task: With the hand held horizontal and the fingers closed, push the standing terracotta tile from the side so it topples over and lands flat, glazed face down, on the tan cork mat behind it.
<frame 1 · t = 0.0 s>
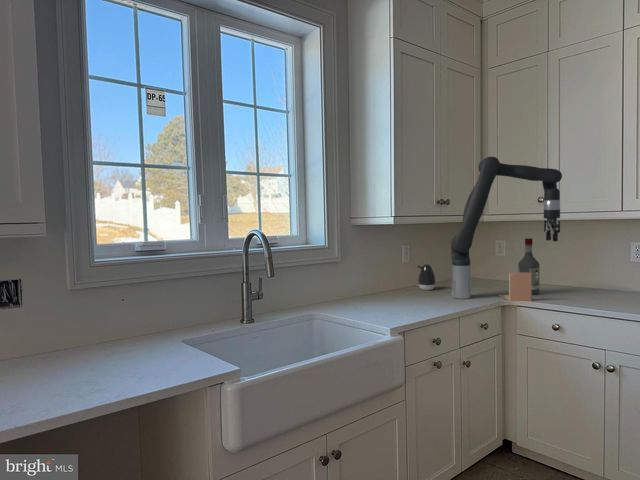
hand: (551, 240, 222), 29 cm above the worktop, tool pointing down, fingers open, 8 cm apart
liquor: (528, 293, 237), on the worktop
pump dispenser: (426, 290, 257), on the worktop
tile: (520, 300, 218), on the worktop
mat: (514, 297, 226), on the worktop
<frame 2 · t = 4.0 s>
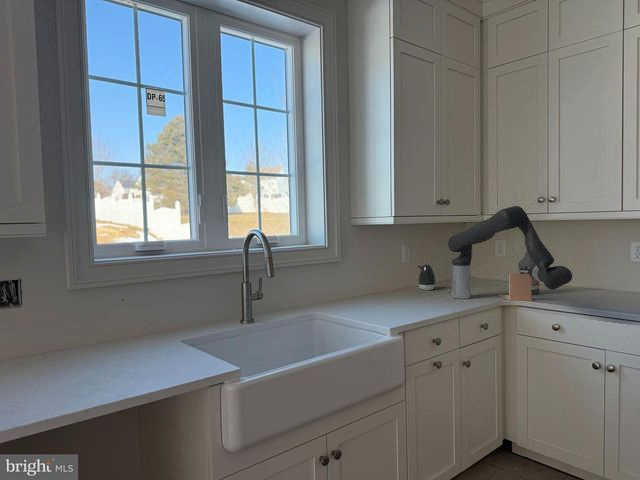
hand: (527, 268, 206), 17 cm above the worktop, tool horizontal, fingers closed
nothing on the worktop moved.
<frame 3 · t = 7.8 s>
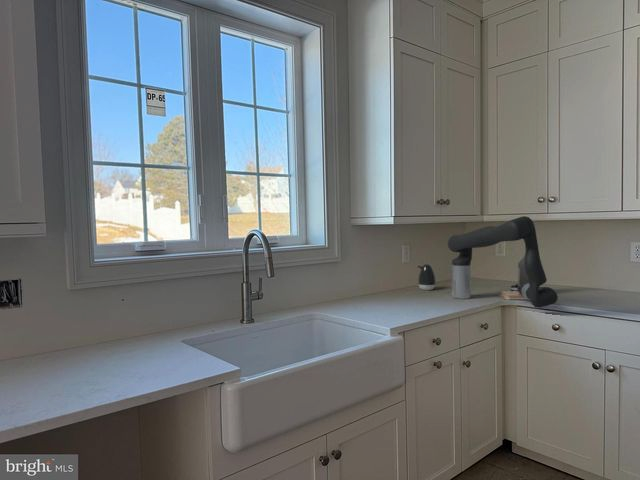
hand: (518, 285, 220), 7 cm above the worktop, tool horizontal, fingers closed
tile: (519, 297, 219), point 1 cm above the worktop, tilted 90°, touching mat
everything else where it was.
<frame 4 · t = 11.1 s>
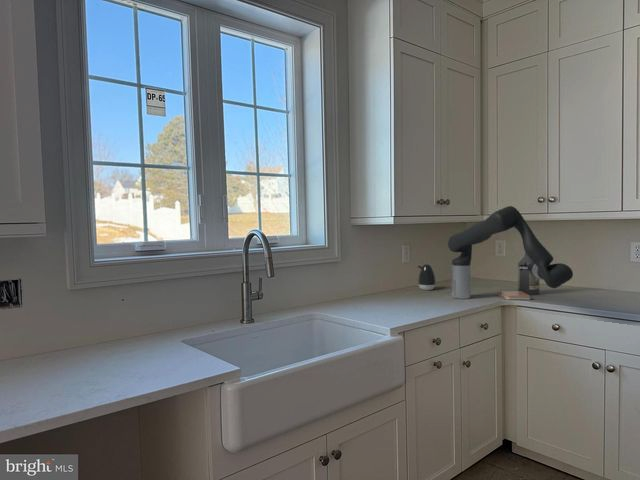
hand: (526, 264, 206), 19 cm above the worktop, tool horizontal, fingers closed
nothing on the worktop moved.
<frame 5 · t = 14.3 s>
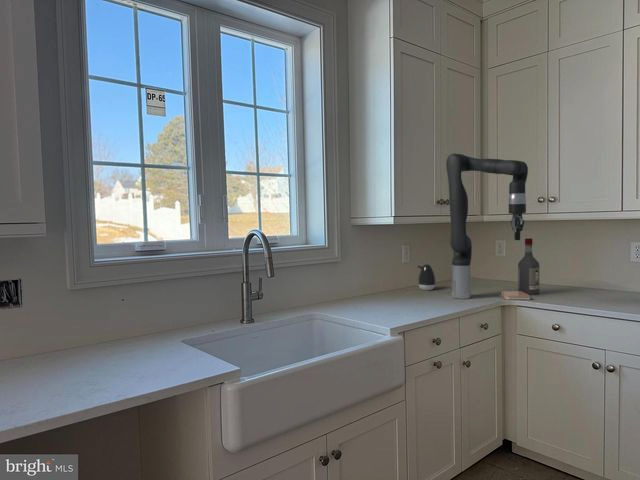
hand: (517, 240, 205), 31 cm above the worktop, tool pointing down, fingers closed
nothing on the worktop moved.
at the end: tile tilted 90°; tile inside the target area (4.9 cm from its centre), point 1.3 cm above the worktop; the gripper is holding nothing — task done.
